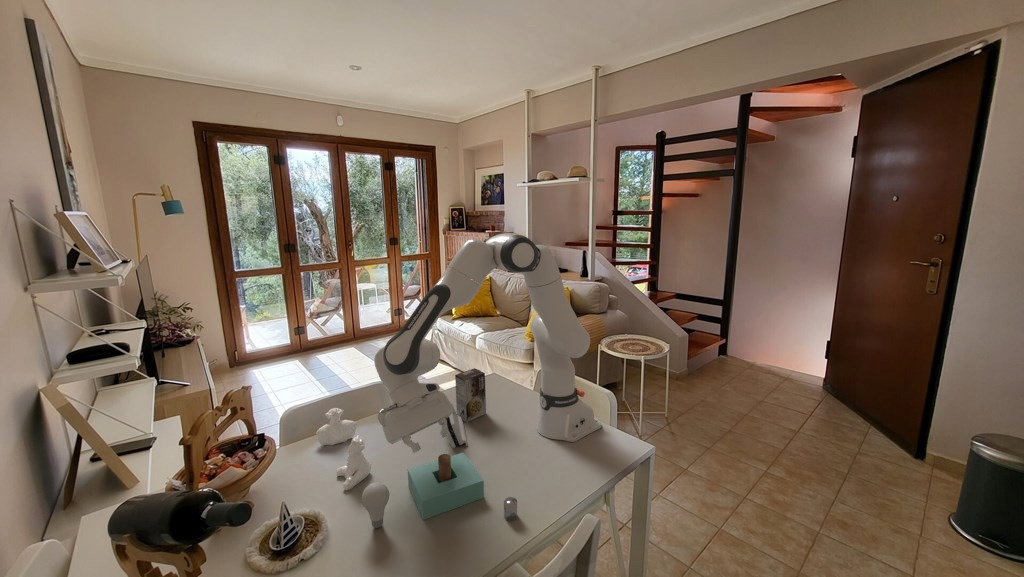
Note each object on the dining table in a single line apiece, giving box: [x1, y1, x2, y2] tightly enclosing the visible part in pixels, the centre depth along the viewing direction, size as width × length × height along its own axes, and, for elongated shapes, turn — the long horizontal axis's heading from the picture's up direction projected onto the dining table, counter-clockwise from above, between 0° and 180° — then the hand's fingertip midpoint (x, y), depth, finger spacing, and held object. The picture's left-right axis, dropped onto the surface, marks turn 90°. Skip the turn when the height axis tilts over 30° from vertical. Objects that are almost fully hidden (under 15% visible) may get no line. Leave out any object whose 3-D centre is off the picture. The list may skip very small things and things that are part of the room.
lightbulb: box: [361, 481, 390, 529], centre depth 94 cm, size 6×6×11 cm
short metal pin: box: [503, 496, 518, 522], centre depth 98 cm, size 3×3×4 cm
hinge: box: [446, 403, 469, 449], centre depth 134 cm, size 17×5×10 cm, turn 13°
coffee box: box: [454, 367, 487, 423], centre depth 146 cm, size 9×6×16 cm
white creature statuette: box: [336, 434, 372, 492], centre depth 112 cm, size 10×9×12 cm
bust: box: [315, 407, 357, 446], centre depth 132 cm, size 12×8×11 cm
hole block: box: [407, 452, 485, 521], centre depth 106 cm, size 16×14×5 cm
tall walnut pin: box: [437, 453, 452, 483], centre depth 106 cm, size 3×3×10 cm
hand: (432, 443), depth 108 cm, fingers open, 8 cm apart
